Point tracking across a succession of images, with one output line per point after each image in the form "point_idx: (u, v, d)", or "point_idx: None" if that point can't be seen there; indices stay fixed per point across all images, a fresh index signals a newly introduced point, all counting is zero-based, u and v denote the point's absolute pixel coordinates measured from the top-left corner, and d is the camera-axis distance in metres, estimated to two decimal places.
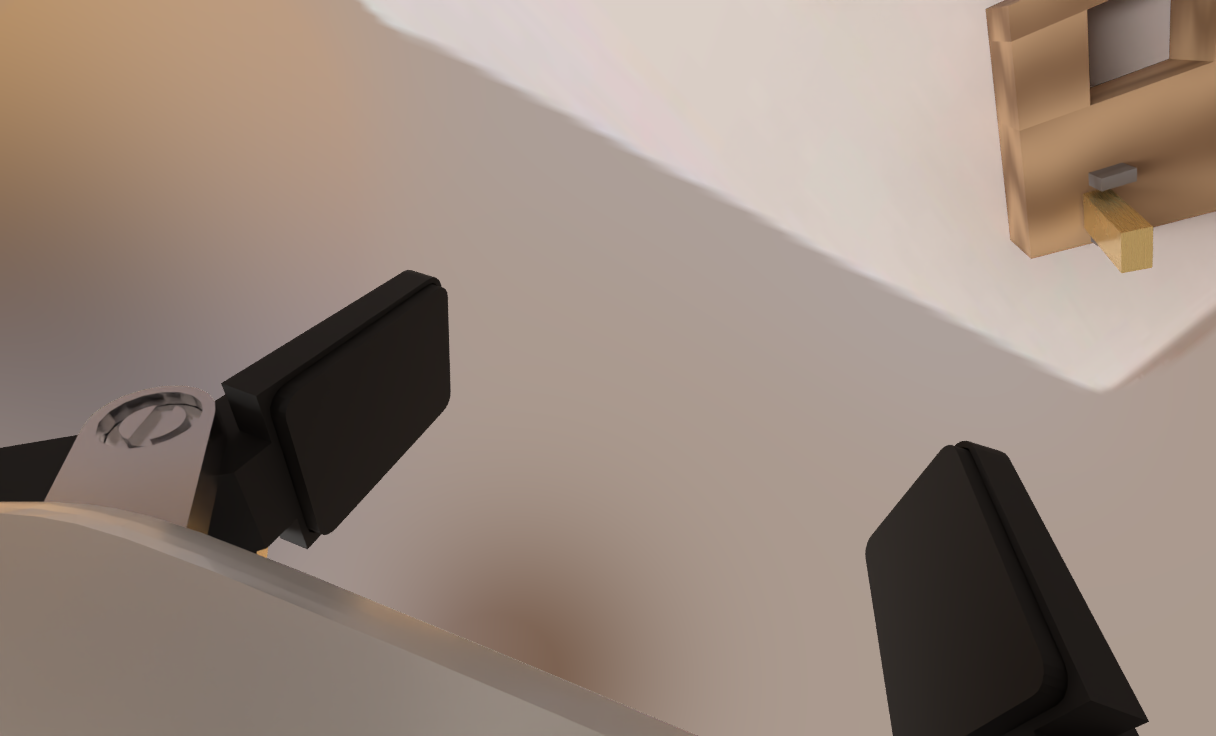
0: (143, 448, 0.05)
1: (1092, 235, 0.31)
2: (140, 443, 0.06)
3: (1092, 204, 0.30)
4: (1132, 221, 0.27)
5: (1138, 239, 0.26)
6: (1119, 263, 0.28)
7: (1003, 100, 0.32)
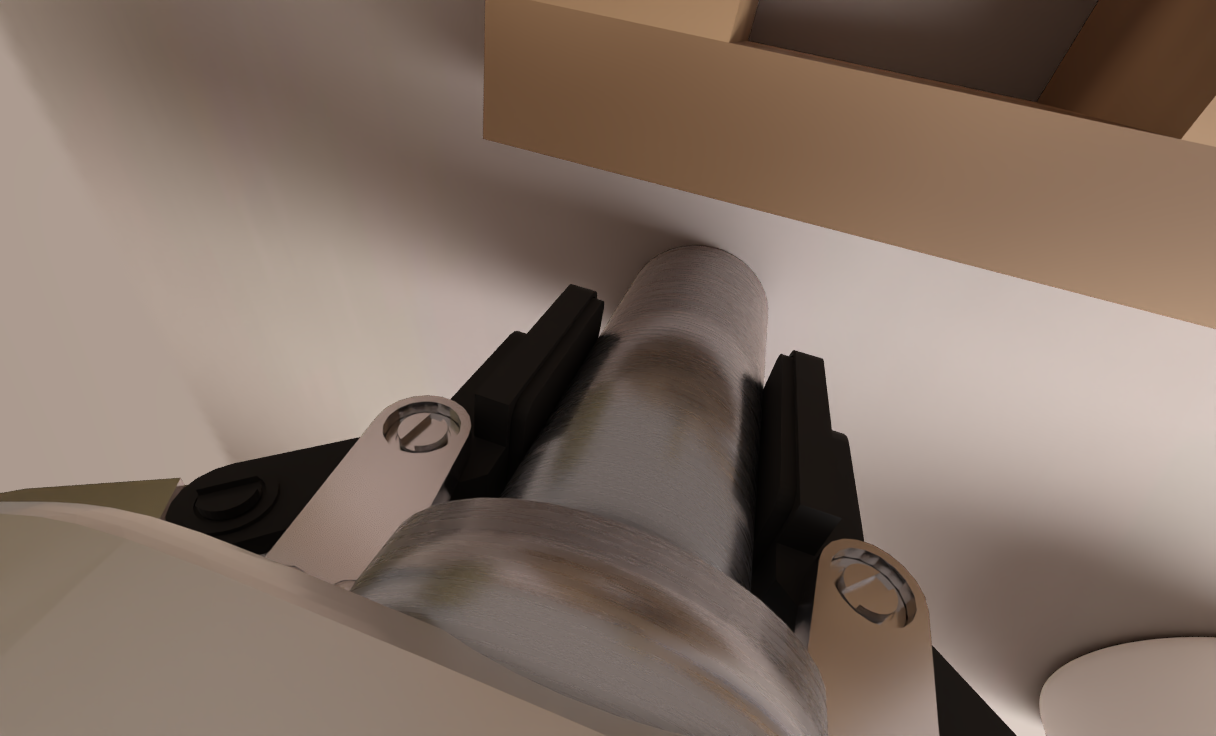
0: (406, 453, 0.06)
1: None
2: (407, 446, 0.06)
3: None
4: None
5: None
6: None
7: None
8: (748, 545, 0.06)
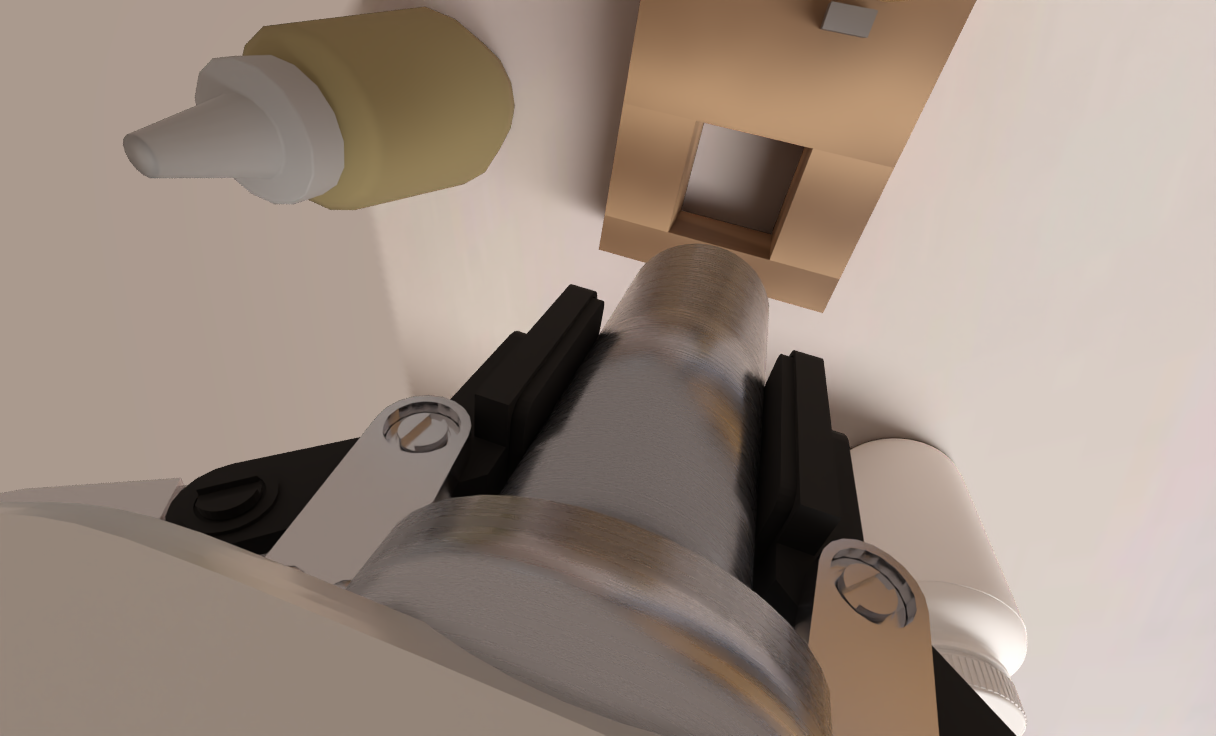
0: (407, 453, 0.06)
1: None
2: (407, 446, 0.06)
3: None
4: None
5: None
6: None
7: None
8: (749, 543, 0.06)
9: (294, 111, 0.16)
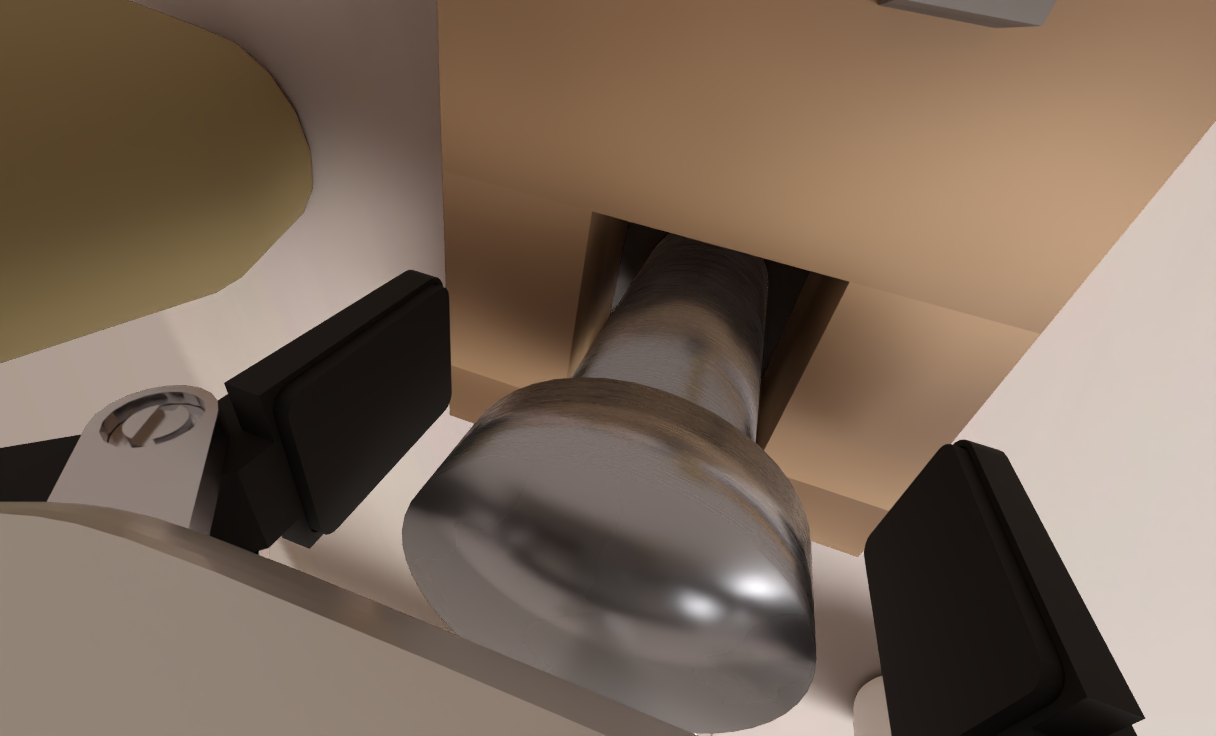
0: (146, 448, 0.05)
1: None
2: (143, 443, 0.06)
3: None
4: None
5: None
6: None
7: None
8: None
9: None
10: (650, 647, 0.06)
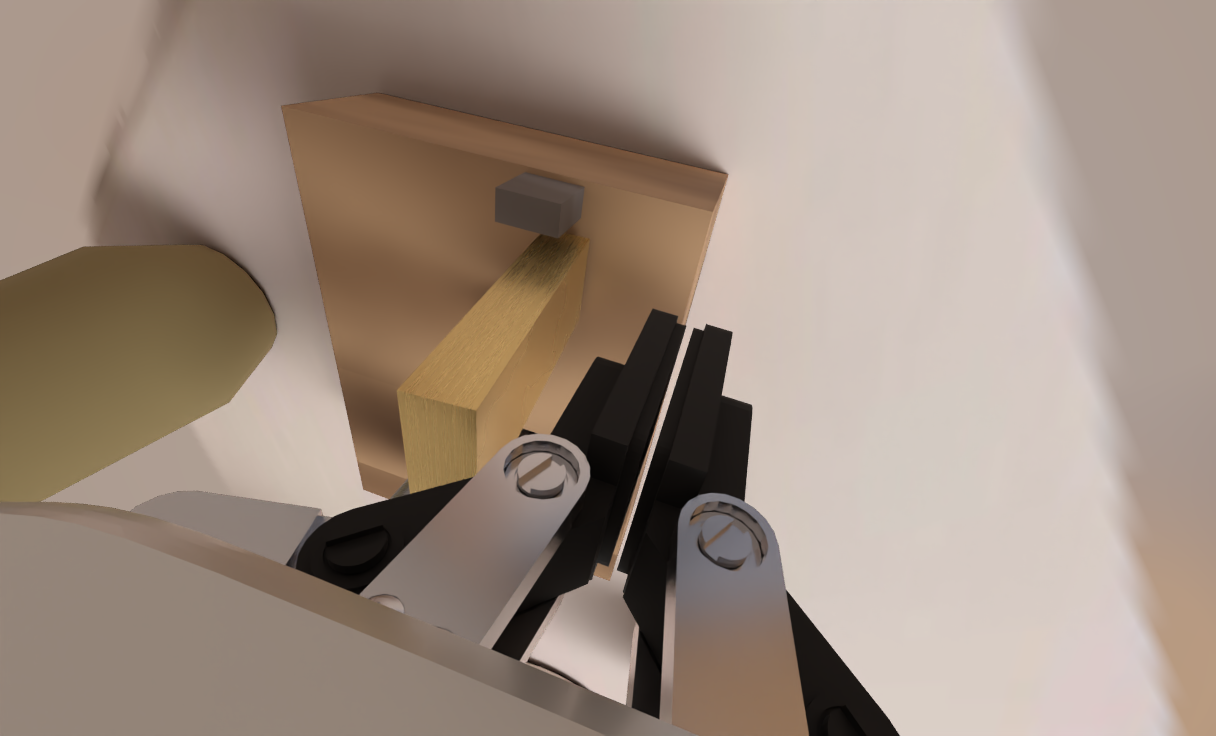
0: (522, 495, 0.06)
1: (571, 275, 0.11)
2: (523, 487, 0.06)
3: (559, 353, 0.12)
4: None
5: (438, 483, 0.08)
6: (485, 416, 0.07)
7: (647, 453, 0.20)
8: None
9: None
10: None
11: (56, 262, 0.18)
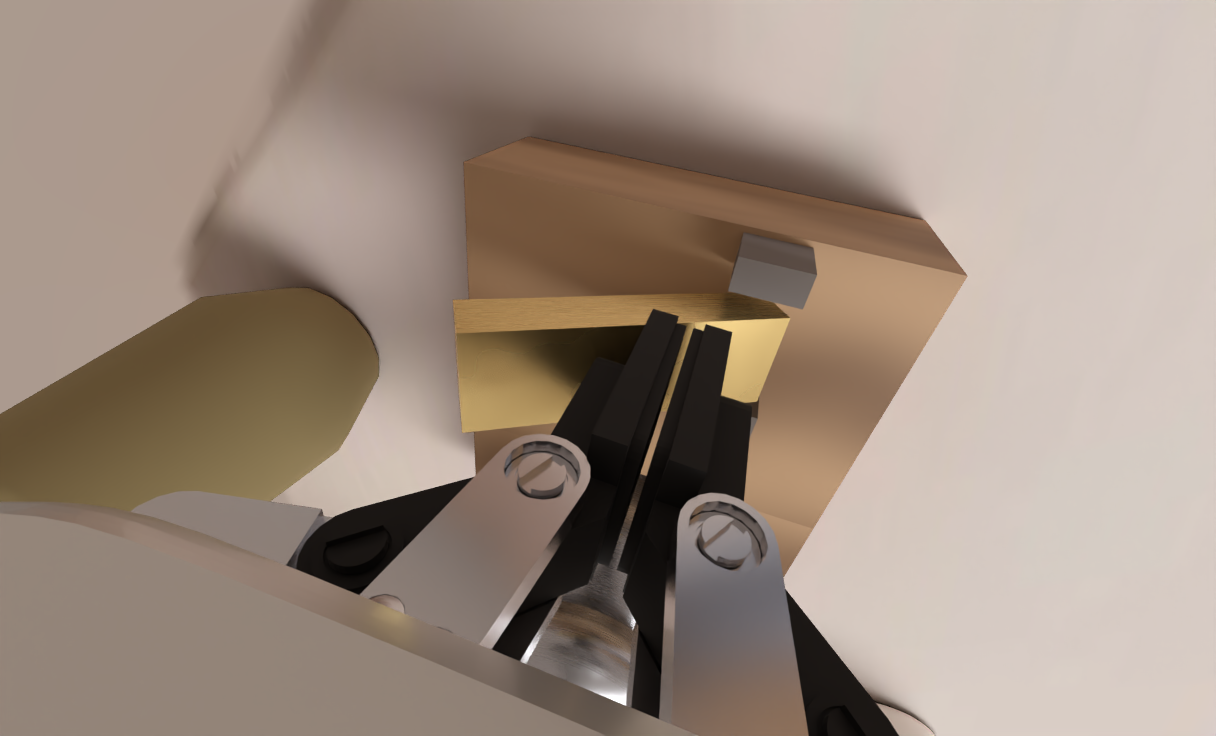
0: (522, 495, 0.06)
1: None
2: (524, 487, 0.06)
3: None
4: None
5: None
6: (478, 351, 0.09)
7: None
8: None
9: None
10: None
11: (181, 317, 0.18)
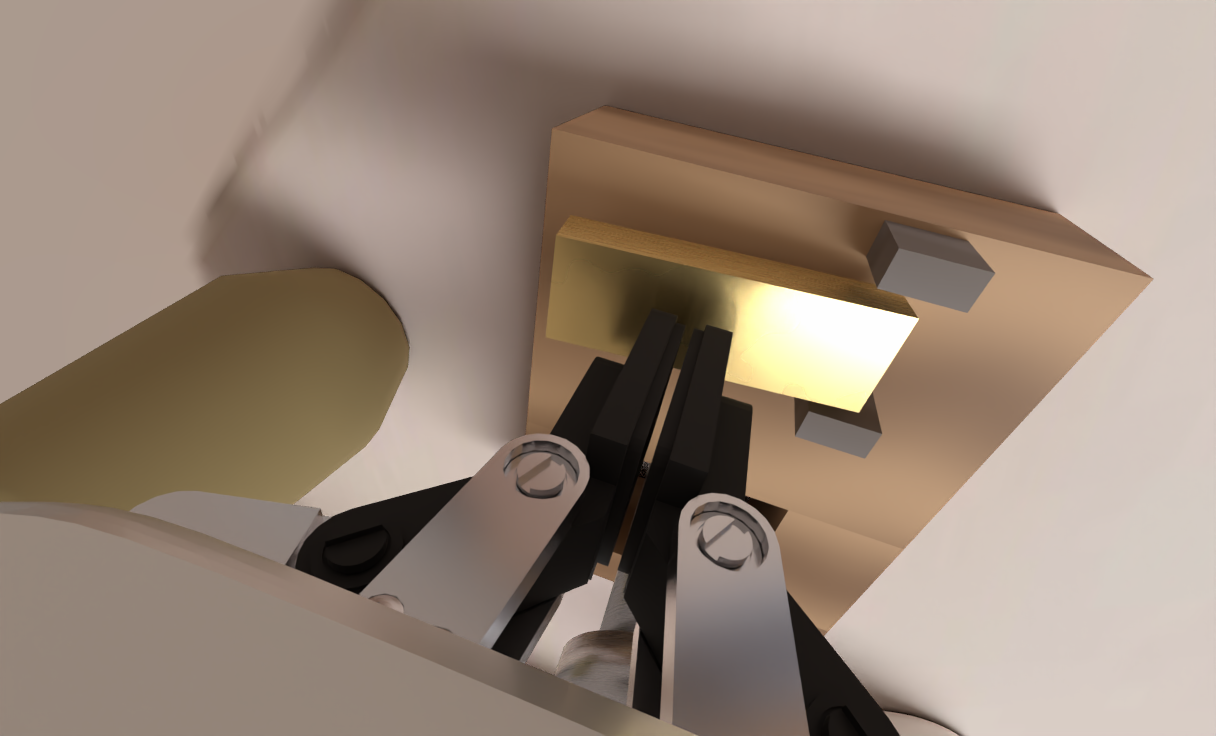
0: (521, 495, 0.06)
1: (817, 306, 0.09)
2: (523, 486, 0.06)
3: (770, 388, 0.11)
4: None
5: None
6: (571, 259, 0.10)
7: None
8: None
9: None
10: None
11: (201, 297, 0.16)
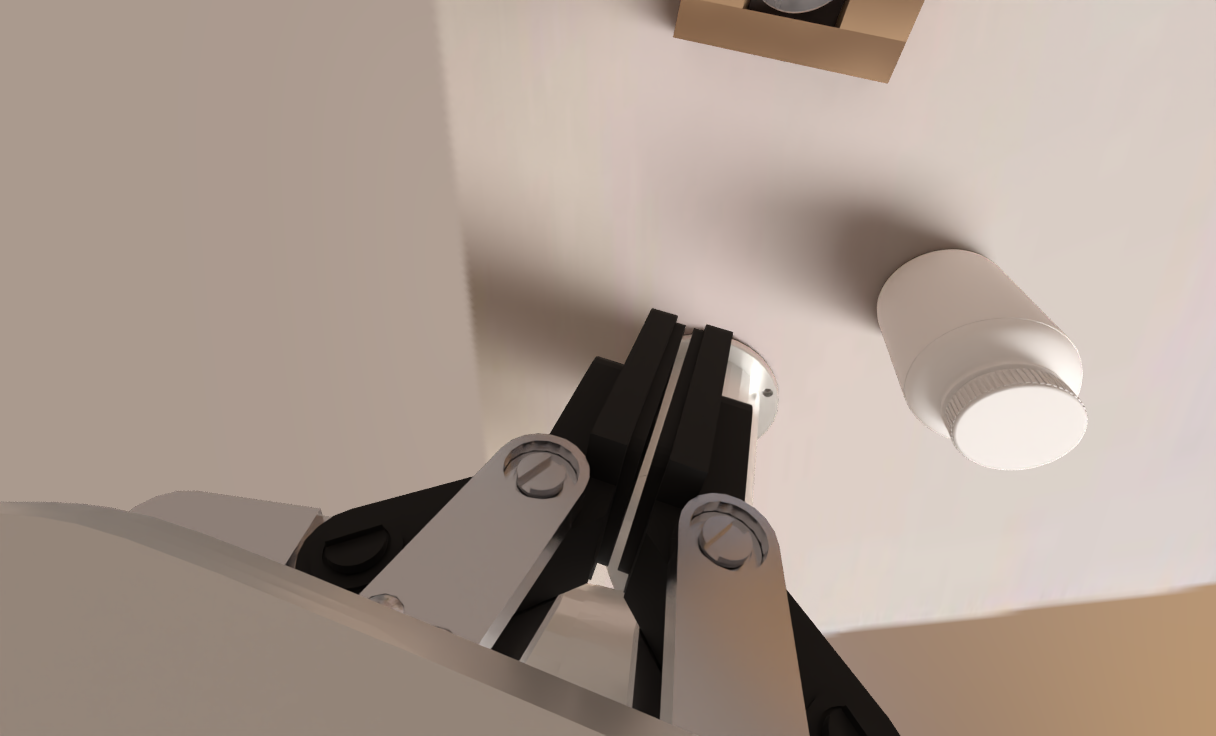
0: (521, 495, 0.06)
1: None
2: (523, 486, 0.06)
3: None
4: None
5: None
6: None
7: None
8: None
9: None
10: None
11: None
